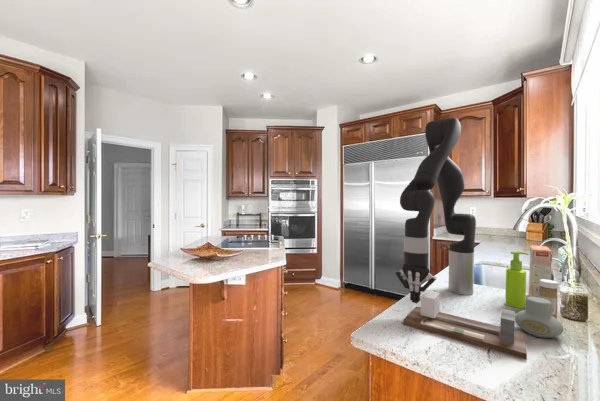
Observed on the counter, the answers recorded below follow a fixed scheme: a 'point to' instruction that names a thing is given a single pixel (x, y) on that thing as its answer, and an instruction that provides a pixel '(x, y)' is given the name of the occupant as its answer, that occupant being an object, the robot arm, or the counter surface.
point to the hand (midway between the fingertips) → (414, 302)
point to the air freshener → (539, 319)
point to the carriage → (430, 304)
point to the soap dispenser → (516, 282)
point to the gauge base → (474, 331)
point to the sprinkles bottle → (549, 293)
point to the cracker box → (539, 268)
